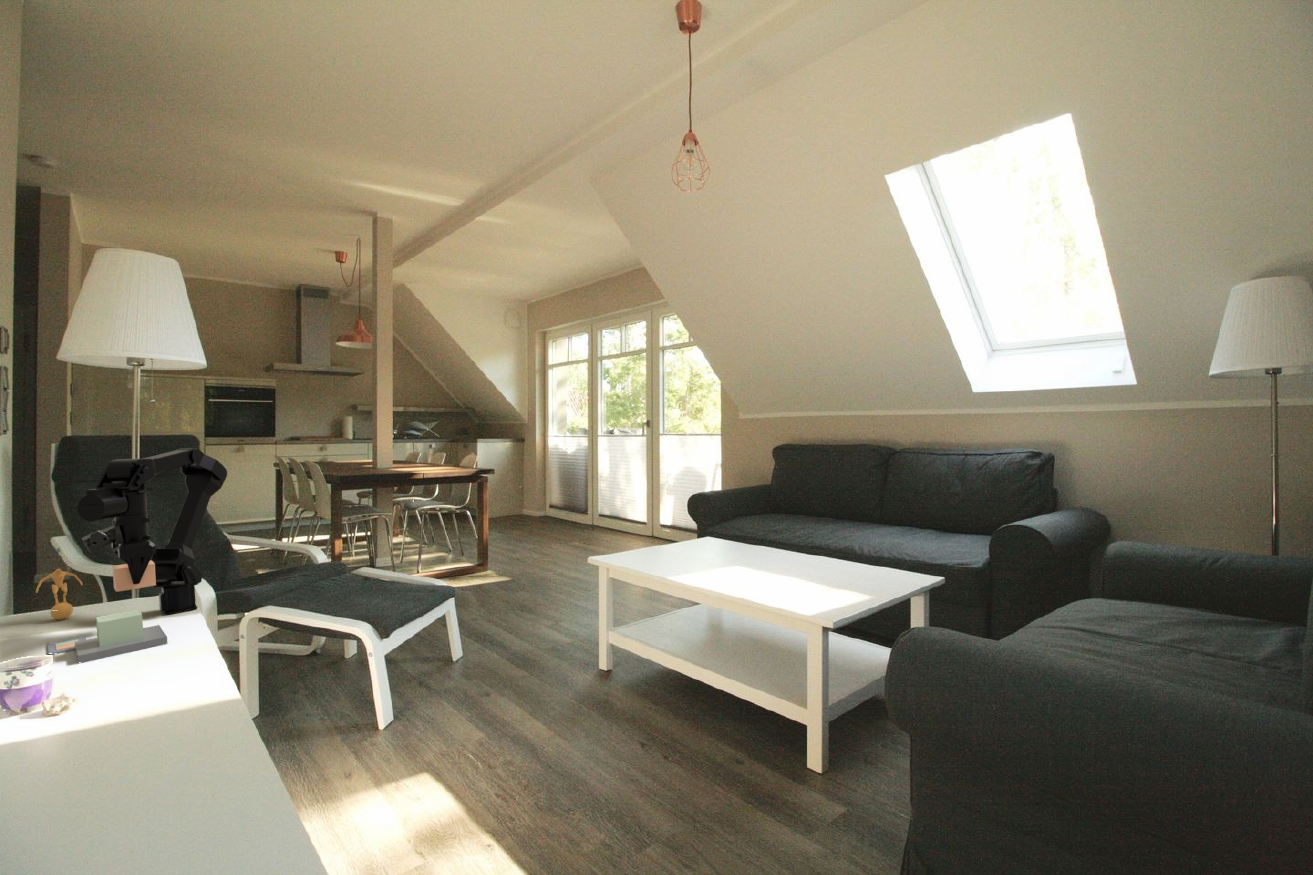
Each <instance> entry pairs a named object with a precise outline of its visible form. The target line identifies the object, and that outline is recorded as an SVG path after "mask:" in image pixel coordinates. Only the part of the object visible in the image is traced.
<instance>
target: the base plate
mask: <svg viewBox="0 0 1313 875" xmlns="http://www.w3.org/2000/svg"><path fill="white" fill-rule="evenodd" d="M143 637H144V638H140V639H135V640H131V641H126V642H121V643H116V644H112V645H107V646H102V647H100V646H99V644H98V641H97V637H92V638H88V639H87V638H86V640H82V641H77V642H75V650H74V651H75V655H76V659H77V662H78V664H80V663H79V662H82V663H87V662H91V661H95V660H99V659H100V660H101V659H104V658H108V657H109V658H110V657H113V656H118V655H122V653H123V654H127V653H132V652H136V651H140V650H145V649H149V647H150V648H155V647H159V646H163V644H164V645H167V644H168V636H167V635H166V633H165V631H164V630H163V629H162V627H161V625H160V624H157V625H153V626H147V627H143ZM166 643H167V644H166ZM158 645H159V646H158ZM154 646H155V647H154ZM126 652H127V653H126Z"/></svg>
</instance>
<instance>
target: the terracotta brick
mask: <svg viewBox="0 0 1313 875" xmlns="http://www.w3.org/2000/svg"><path fill="white" fill-rule="evenodd" d="M112 579H113V590H114V591H115V592H123V591H129V590H136V589H141V588H142V589H143V588H147V587H154V586H155V585H156V576H155V563H154V562H153V561H152V560H151V559H150V561H149V563H148V566H147V568H146V570H145V572H144V574H143V577H142V579H141V581H140V583H139V584H133V582H132V578H131V575H130V572H129V568H128V565H127V564H125V563H124V564H116V565H112Z"/></svg>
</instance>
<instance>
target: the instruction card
mask: <svg viewBox="0 0 1313 875" xmlns="http://www.w3.org/2000/svg"><path fill="white" fill-rule="evenodd" d="M82 640H87V638H86V636H81V637H77V638H71V639H66V640H65V639H64V640H62V641H57V642H52V643H51V642H50V643H47V650H48V654H49V653H57V654H60V653H59V652H62V653H66V652H70V651H75V642H77V641H82Z"/></svg>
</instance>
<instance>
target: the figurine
mask: <svg viewBox="0 0 1313 875" xmlns="http://www.w3.org/2000/svg"><path fill="white" fill-rule="evenodd" d="M65 576H70V577H74V579H76V580H77V581H78V582H79V584H80V585H81V586H83V585H84V583H83V581H82V580H81V579H80V578H79V576H77V574H76V573H71V572H68V571H63V570H62V569H61V568H56V570H55V571H54V572H52V573H50V574H48V575H47V576H45V577H42V578H41V579H39V580H40V581H39V583H38V584H37V587H36V589H35V593H36V594H37V593H39V591H40V589H39V588H40V587H41V585H42V584H43V582H44V581H46V580H49V579H52V580H53V582H54V584H51V589H52V593H53V598H55V600H54V601H55V604H54V605H53V606H52V608H51V609H50V616H51V617H52V618H53V619H55V620H58V621H59V620H61V621H62V620H65V619H67V618H69V617H70V616H71V615H72V614H73V612H74V607H73V605H72V604H71V603H69V602H68V601H67V598H66V596H67V595H68V584H67V582H64V579H65ZM59 589H61V591H62V592H63V594H62V600H63V601H62V602H60V601H59V598H58V596H59V595H58V594H57V593H58V592H59ZM52 610H58V611H52Z"/></svg>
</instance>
